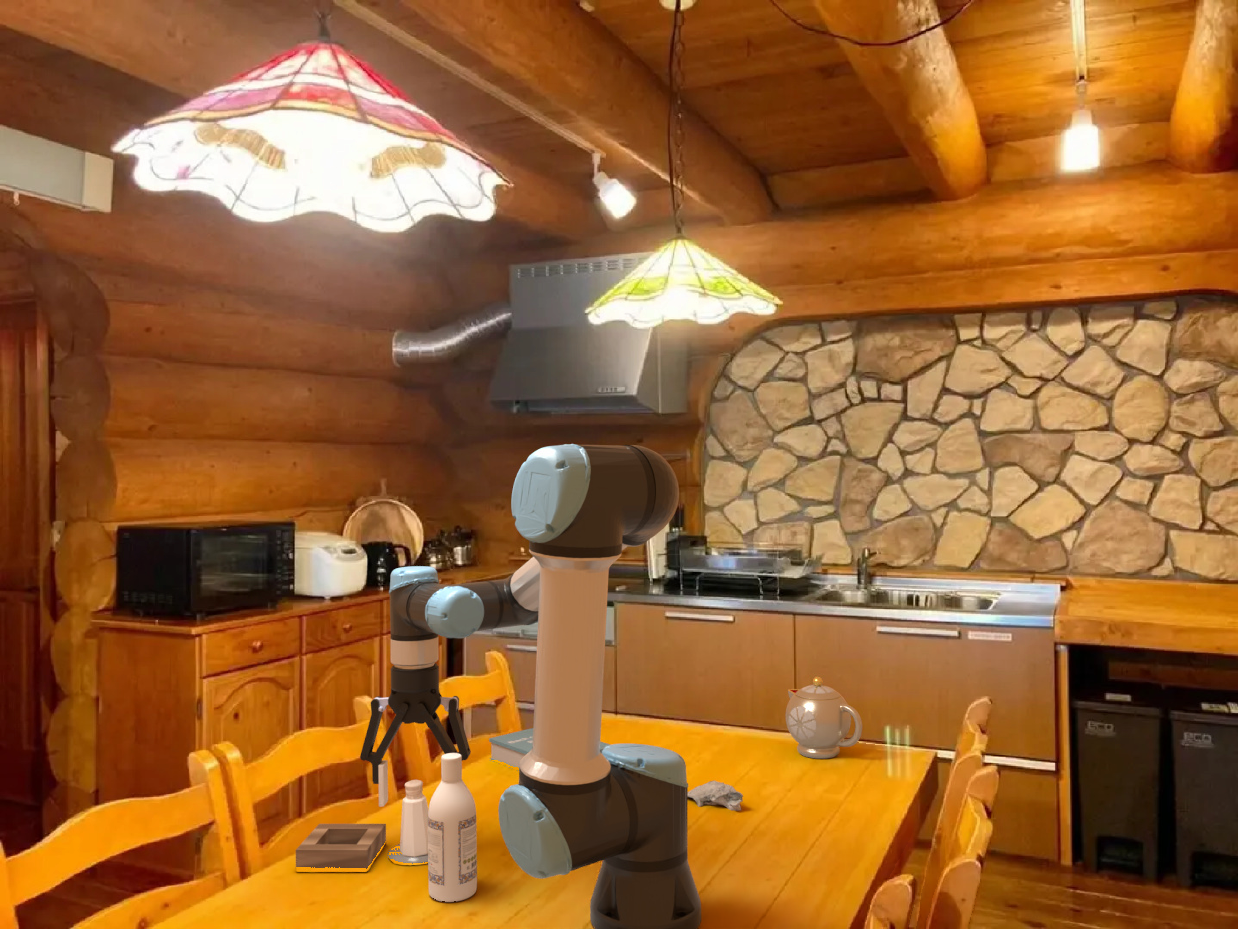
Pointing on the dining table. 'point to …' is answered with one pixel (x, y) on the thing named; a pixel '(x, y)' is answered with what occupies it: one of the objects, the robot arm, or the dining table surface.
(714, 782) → the stone
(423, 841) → the salt shaker
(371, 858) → the socket block
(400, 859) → the coaster
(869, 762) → the dining table surface
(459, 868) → the bath foam
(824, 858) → the dining table surface
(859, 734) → the teapot
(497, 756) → the book
